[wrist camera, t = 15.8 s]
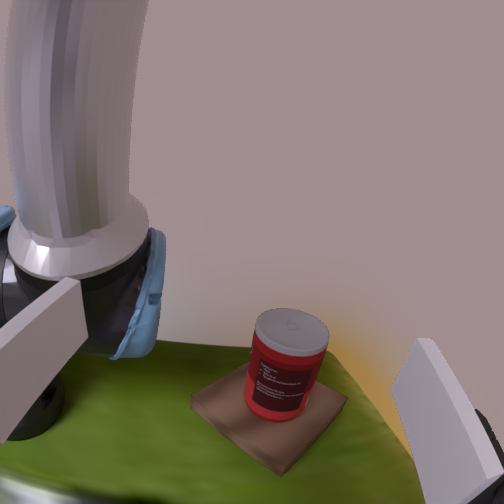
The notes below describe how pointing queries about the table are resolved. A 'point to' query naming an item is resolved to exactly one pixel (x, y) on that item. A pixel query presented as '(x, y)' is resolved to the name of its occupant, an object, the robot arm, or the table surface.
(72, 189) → the robot arm
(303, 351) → the canned food
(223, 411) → the walnut base
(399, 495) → the table surface
